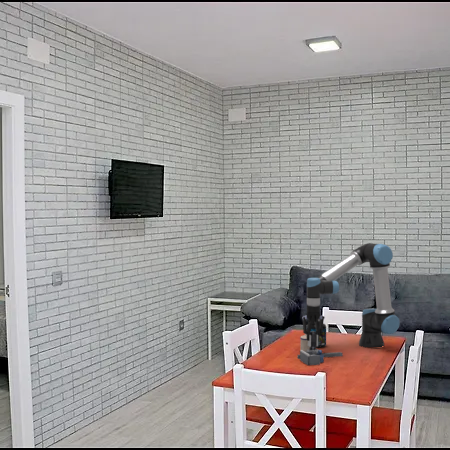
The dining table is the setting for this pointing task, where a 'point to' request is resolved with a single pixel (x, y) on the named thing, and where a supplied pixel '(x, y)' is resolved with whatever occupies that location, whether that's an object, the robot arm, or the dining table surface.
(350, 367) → the dining table surface
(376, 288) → the robot arm
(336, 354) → the rail
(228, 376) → the dining table surface
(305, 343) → the teacup with lid
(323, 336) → the container
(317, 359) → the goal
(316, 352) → the kicker
